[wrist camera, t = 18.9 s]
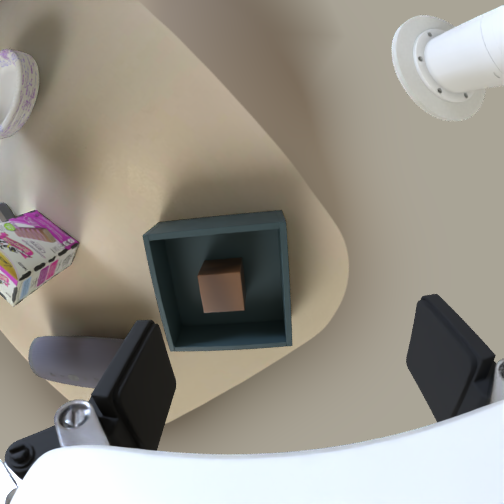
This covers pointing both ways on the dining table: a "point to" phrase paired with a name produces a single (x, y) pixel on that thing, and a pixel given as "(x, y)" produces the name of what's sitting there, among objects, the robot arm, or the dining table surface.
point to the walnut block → (222, 285)
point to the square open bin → (222, 247)
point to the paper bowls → (16, 90)
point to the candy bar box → (31, 254)
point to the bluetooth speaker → (72, 358)
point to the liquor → (5, 213)
